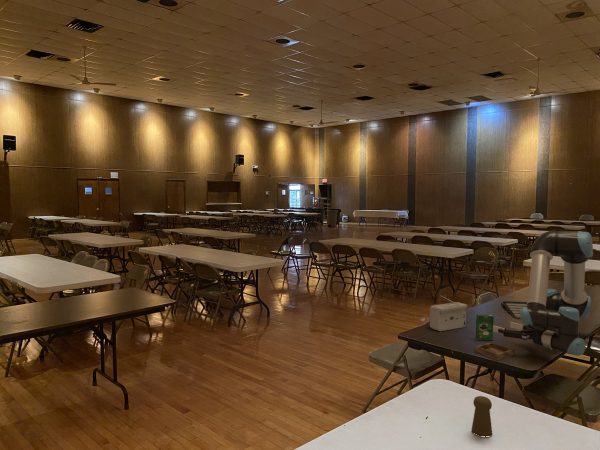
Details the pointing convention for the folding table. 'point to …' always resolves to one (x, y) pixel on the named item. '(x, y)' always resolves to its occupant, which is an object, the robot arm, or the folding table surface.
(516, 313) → the shutter
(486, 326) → the coffee box
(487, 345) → the tray
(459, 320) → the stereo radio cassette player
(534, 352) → the folding table surface
